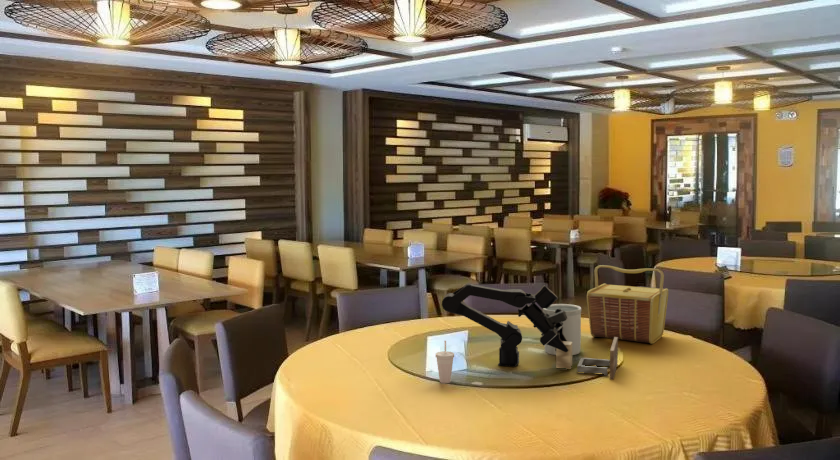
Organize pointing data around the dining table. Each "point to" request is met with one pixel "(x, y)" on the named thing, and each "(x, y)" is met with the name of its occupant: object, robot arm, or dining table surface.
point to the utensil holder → (567, 326)
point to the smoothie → (445, 365)
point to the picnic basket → (627, 309)
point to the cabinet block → (564, 356)
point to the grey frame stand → (601, 362)
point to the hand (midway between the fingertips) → (568, 349)
